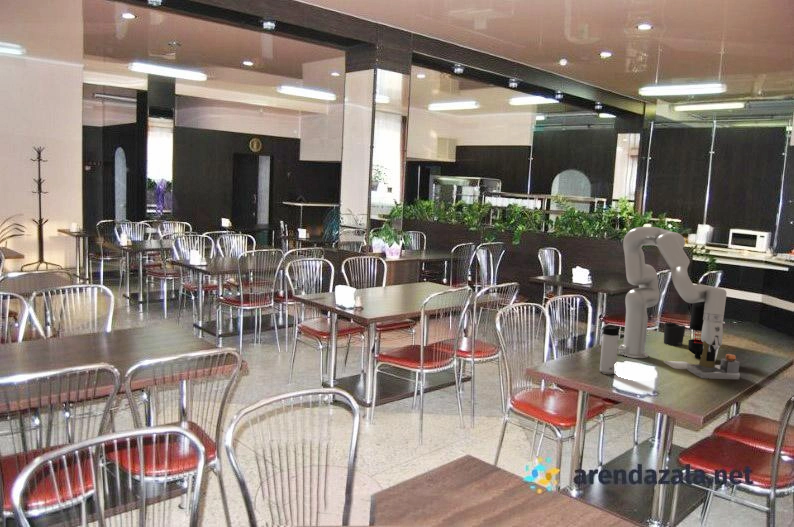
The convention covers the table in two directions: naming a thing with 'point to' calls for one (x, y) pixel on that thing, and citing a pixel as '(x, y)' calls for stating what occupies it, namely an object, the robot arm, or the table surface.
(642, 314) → the robot arm
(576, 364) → the table surface
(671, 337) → the pen holder
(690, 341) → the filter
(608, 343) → the travel mug
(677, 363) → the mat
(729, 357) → the plunger
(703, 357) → the brown waisted column
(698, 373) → the housing
